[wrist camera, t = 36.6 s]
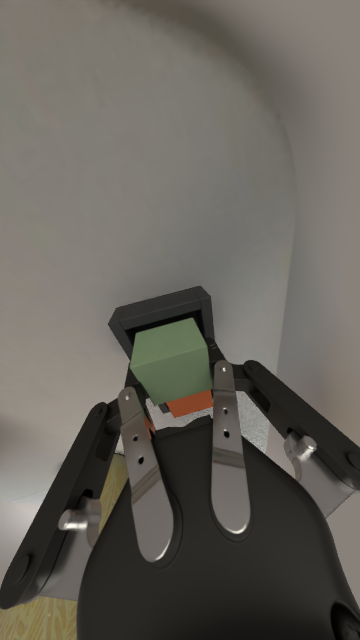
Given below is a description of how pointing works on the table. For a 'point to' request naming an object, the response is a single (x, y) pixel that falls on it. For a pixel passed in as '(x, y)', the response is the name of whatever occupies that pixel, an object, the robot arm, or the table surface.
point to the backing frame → (163, 318)
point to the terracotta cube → (190, 403)
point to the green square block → (171, 361)
